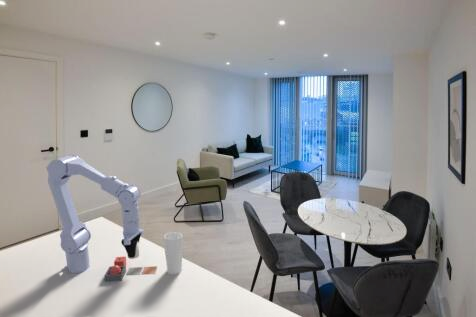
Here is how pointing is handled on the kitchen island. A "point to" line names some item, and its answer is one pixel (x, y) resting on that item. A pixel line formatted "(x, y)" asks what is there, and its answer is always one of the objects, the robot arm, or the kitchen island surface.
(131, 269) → the game board
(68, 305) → the kitchen island surface
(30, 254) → the kitchen island surface
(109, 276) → the pop dome base
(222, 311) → the kitchen island surface
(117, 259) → the red block with knob
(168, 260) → the drinking glass
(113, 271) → the pop dome
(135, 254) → the ivory pawn
